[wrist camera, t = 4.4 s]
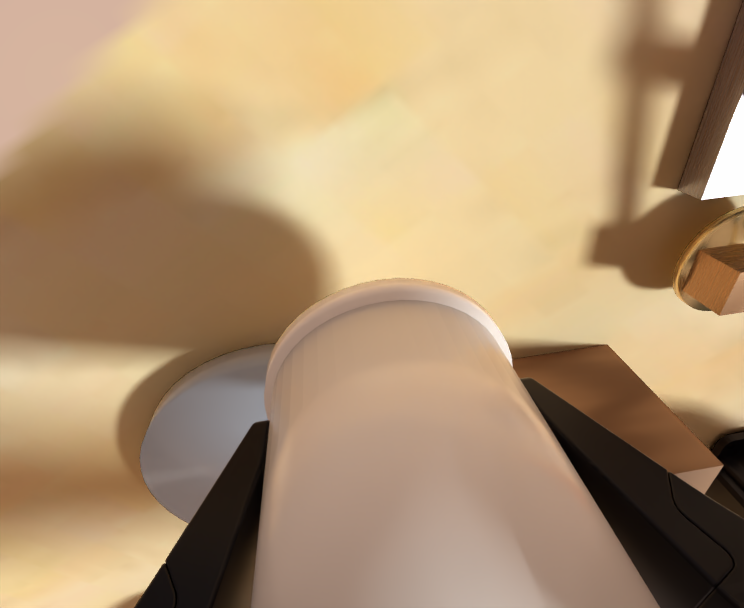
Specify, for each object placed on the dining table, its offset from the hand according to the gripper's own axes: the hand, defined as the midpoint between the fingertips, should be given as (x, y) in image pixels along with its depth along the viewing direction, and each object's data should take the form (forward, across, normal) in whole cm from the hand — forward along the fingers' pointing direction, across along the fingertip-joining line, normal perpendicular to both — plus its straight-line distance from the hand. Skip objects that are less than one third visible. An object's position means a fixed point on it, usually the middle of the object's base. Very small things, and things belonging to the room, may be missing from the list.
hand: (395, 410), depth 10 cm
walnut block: (+5, -8, +7) cm, 12 cm away
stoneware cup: (+1, 0, 0) cm, 1 cm away
